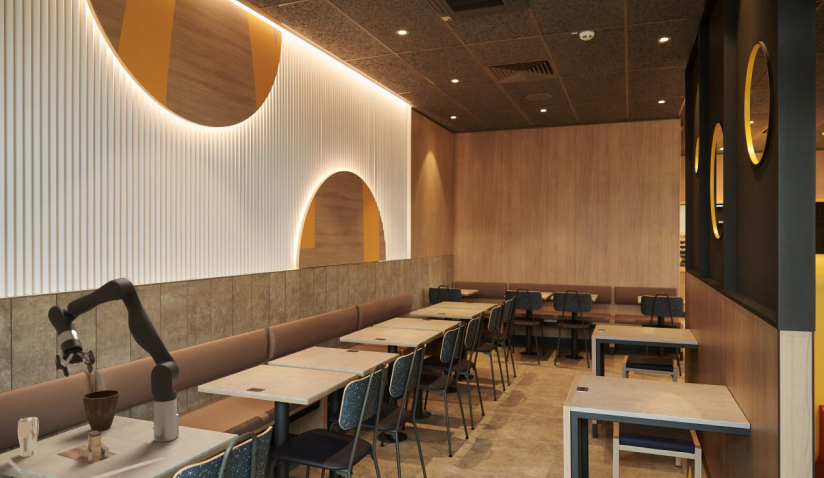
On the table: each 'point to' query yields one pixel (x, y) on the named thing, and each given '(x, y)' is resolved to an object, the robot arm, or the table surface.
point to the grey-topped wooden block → (94, 443)
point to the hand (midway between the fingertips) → (79, 373)
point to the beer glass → (28, 435)
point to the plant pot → (101, 408)
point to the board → (76, 454)
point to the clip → (88, 454)
